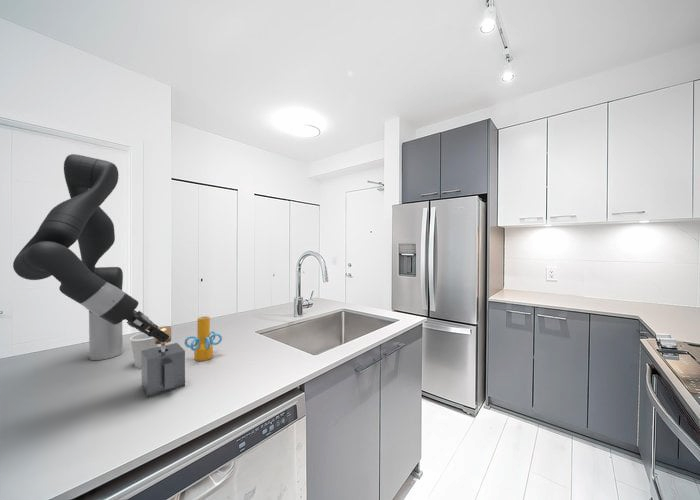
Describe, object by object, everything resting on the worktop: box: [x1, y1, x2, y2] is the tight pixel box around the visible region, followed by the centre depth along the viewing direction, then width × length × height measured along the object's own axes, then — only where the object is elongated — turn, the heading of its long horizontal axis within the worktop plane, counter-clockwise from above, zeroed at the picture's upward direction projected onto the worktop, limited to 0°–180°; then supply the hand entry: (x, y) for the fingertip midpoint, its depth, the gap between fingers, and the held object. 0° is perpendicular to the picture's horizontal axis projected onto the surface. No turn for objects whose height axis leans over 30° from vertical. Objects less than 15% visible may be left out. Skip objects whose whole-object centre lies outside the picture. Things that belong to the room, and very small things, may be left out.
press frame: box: [141, 342, 186, 400], centre depth 78 cm, size 12×9×11 cm
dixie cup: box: [129, 332, 159, 369], centre depth 93 cm, size 8×8×10 cm
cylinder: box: [184, 315, 223, 362], centre depth 98 cm, size 12×10×15 cm
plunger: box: [155, 325, 172, 352], centre depth 79 cm, size 7×7×15 cm
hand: (163, 335), depth 78 cm, fingers open, 8 cm apart
